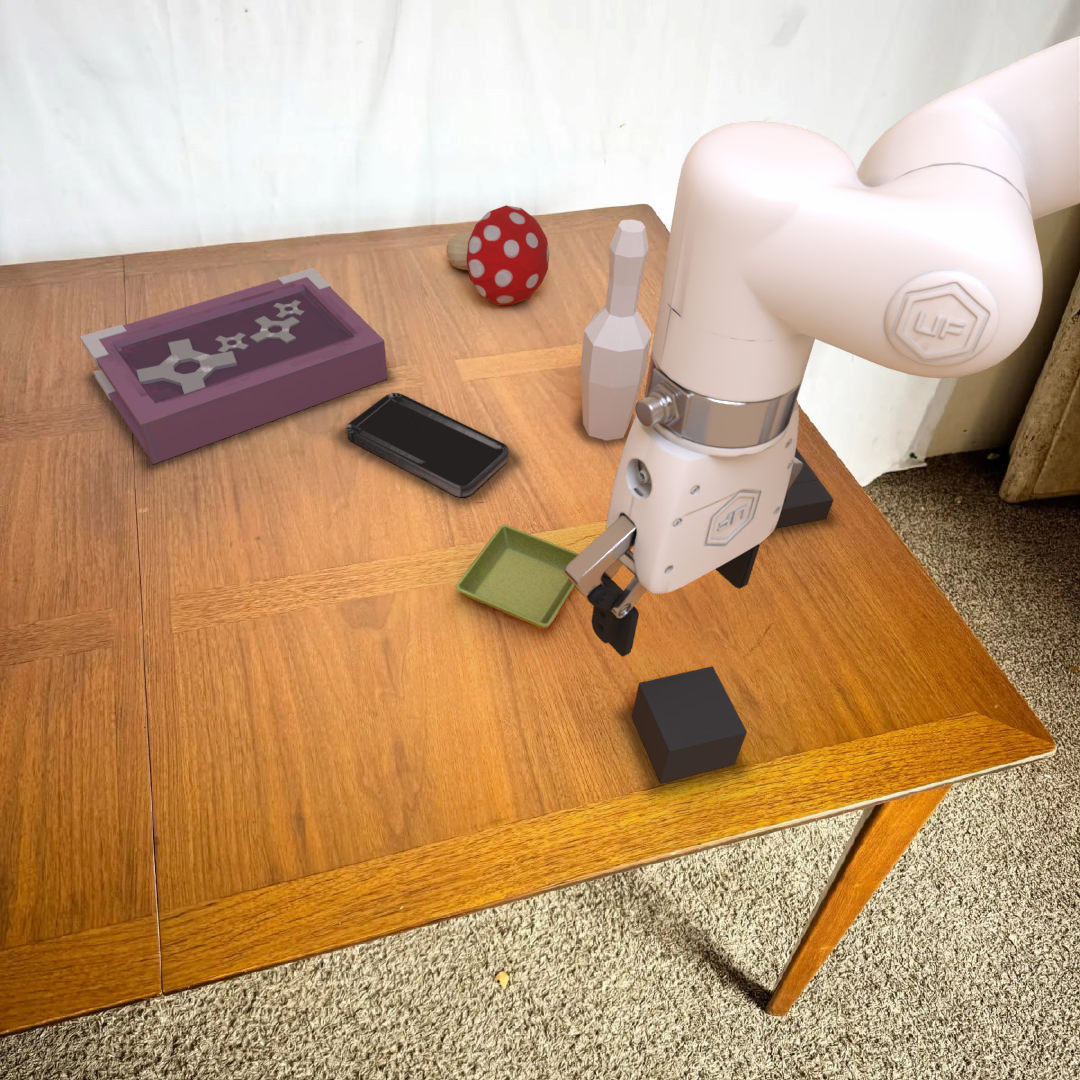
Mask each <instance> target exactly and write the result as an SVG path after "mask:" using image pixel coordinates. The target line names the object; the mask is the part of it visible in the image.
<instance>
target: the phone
mask: <svg viewBox="0 0 1080 1080" xmlns="http://www.w3.org/2000/svg"><path fill="white" fill-rule="evenodd" d="M346 433H347V438H348V440H349V442H351V443H353V444H355V445H357V446H359V447H361V448H362V449H365V450H366V451H368V452H371V453H372V454H374V455H376V456H378V457H380V458H381V459H384V460H386V461H388V462H390V463H391V464H393V465H395V466H397V467H399V468H401V469H403V470H405V471H407V472H409V473H411V474H413V475H414V476H417V477H418V478H421V479H423V480H424V481H425V482H429V483H430V484H432V485H433V486H436V487H438V488H440V489H442V490H443V491H445V492H447V493H449V494H451V495H453V496H455V497H458V498H467V497H470V496H471V495H473V494H474V493H475V492H477V491H478V490H479V489H480V488H481V487H482V486H483V485H484V484H485V483H486V482H488V480H489V479H491V478H492V477H494V475H495V474H496V473H497V472H498V471H499V470H500V469H501V468H503V467H504V466H505V465H506V464H507V462H508V461H509V453H510V451H509V446H508V445H506V444H505V443H504V442H501V441H499V440H498V439H496V438H493V437H491V436H489V435H488V434H485V433H483V432H481V431H479V430H476V429H475V428H473V427H471V426H469V425H467V424H464V423H462V422H460V421H458V420H456V419H455V418H452V417H450V416H448V415H446V414H444V413H442V412H439V411H437V410H436V409H434V408H431V407H429V406H428V405H425V404H424V403H421V402H419V401H417V400H415V399H413V398H410V397H409V396H407V395H405V394H402V393H400V392H391V393H388V394H386V395H385V396H383V397H382V398H380V399H379V400H378V401H377V402H375V403H374V404H372V405H371V406H370V407H368V408H367V409H366V410H365V411H363V412H362V413H361V414H359V415H358V416H357V417H355V418H354V419H352V420H351V421H350V422H349V423H348V424H347V425H346Z"/></svg>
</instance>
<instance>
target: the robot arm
mask: <svg viewBox="0 0 1080 1080" xmlns="http://www.w3.org/2000/svg"><path fill="white" fill-rule="evenodd" d="M1076 205H1080V35H1078V36H1076V37H1072V38H1069V39H1067V40H1064V41H1061V42H1058V43H1056V44H1053V45H1051V46H1049V47H1046V48H1043V49H1042V50H1039V51H1037V52H1034V53H1031V54H1030V55H1027V56H1025V57H1022V58H1021V59H1018V60H1017V61H1016V60H1015V61H1014V62H1012V63H1009V64H1007V65H1005V66H1003V67H1000V68H998V69H996V70H994V71H992V72H990V73H988V74H985V75H983V76H981V77H978V78H976V79H974V80H972V81H969V82H967V83H965V84H963V85H961V86H958V87H956V88H954V89H952V90H950V91H948V92H946V93H944V94H942V95H939V96H938V97H936V98H934V99H931V100H930V101H927V102H925V103H924V104H923V105H921V106H919V107H917V108H916V109H914V110H912V111H911V112H910V113H908V114H906V115H905V116H903V117H902V118H901V119H899V120H898V121H897V122H896V123H894V124H893V125H892V126H890V127H889V128H887V130H885V131H884V132H883V134H881V135H880V137H879V138H878V139H876V141H875V142H874V143H873V144H872V145H871V146H870V148H869V149H868V150H867V152H866V154H865V155H864V157H863V159H862V160H861V161H860V164H859V166H858V168H857V170H856V167H855V164H854V162H853V159H852V158H851V156H849V154H848V153H847V152H846V151H845V150H844V148H842V146H840V145H839V144H838V143H836V142H835V141H834V140H832V139H830V138H828V137H827V136H824V135H823V134H820V133H818V132H816V131H813V130H810V129H808V128H805V127H800V126H798V125H793V124H788V123H783V122H776V121H774V122H773V121H763V120H762V121H761V120H748V121H741V122H739V121H738V122H732V123H731V122H730V123H726V124H724V125H721V126H718V127H716V128H714V129H711V130H710V131H708V132H706V133H705V134H703V135H702V136H701V137H700V138H698V139H697V141H695V143H694V144H693V145H692V146H691V147H690V149H689V151H688V152H687V154H686V156H685V159H684V161H683V163H682V165H681V169H680V174H679V179H678V183H677V188H676V195H675V199H674V205H673V207H674V208H673V212H672V219H671V225H670V232H669V237H668V244H667V251H666V257H665V263H664V270H663V275H662V281H661V289H660V295H659V302H658V309H657V314H656V320H655V325H654V331H653V337H652V343H651V350H650V357H649V362H648V369H647V376H646V381H645V387H644V394H643V398H642V399H640V400H637V401H636V404H635V408H634V410H635V416H634V419H633V421H632V424H631V426H630V429H629V432H628V435H627V438H626V441H625V443H624V447H623V450H622V453H621V457H620V459H619V463H618V466H617V469H616V474H615V477H614V481H613V486H612V489H611V490H612V491H611V494H610V499H609V503H608V509H607V516H606V523H605V530H604V531H603V532H602V533H601V534H599V535H598V536H597V537H596V538H595V539H594V540H593V541H592V542H591V543H589V544H588V545H587V547H585V548H584V549H583V550H581V551H580V552H579V555H578V556H577V557H575V558H574V559H573V560H572V561H571V562H570V563H569V564H568V565H567V566H566V568H565V574H566V575H567V576H568V578H569V579H570V580H571V582H572V583H573V584H574V588H575V589H576V590H577V591H578V592H579V593H580V594H581V595H582V596H583V597H584V598H585V599H586V600H587V601H588V602H589V603H590V604H591V606H593V608H592V614H591V626H592V630H593V633H594V634H595V636H597V638H598V639H599V640H600V641H601V642H603V643H604V644H609V645H610V646H611V648H613V649H614V651H616V653H617V654H618V655H619V656H620V657H625V656H627V655H629V654H630V653H632V650H633V646H634V641H635V636H636V631H637V627H638V621H639V617H640V612H639V610H638V608H637V607H636V604H637V603H638V602H639V601H640V600H641V598H642V596H643V595H644V594H645V593H646V591H648V592H649V593H650V594H652V595H663V594H668V593H671V592H675V591H676V590H679V589H681V588H683V587H685V586H687V585H689V584H690V583H693V582H695V581H696V580H698V579H699V578H701V577H703V576H705V575H707V574H709V573H711V572H712V571H714V570H715V571H716V572H717V573H718V574H720V575H721V576H722V577H723V578H724V579H725V580H726V581H727V582H729V583H730V584H731V586H733V587H734V588H736V589H743V588H744V587H746V586H748V584H749V581H750V579H751V575H752V572H753V568H754V566H755V562H756V559H757V555H758V553H759V549H760V546H761V543H762V542H764V541H765V540H766V539H767V538H768V537H770V536H771V534H772V533H773V532H774V531H775V529H776V528H775V527H776V524H777V522H778V519H779V516H780V513H781V510H782V506H783V505H784V504H785V502H786V498H787V494H786V492H787V489H789V488H790V487H791V485H792V484H793V482H794V481H795V479H796V478H797V476H798V475H799V473H800V471H801V470H802V468H803V463H802V462H801V461H799V460H798V459H797V458H795V457H794V456H795V451H796V449H797V445H798V444H797V443H798V435H799V423H800V405H799V401H798V396H799V393H800V391H801V387H802V383H803V381H804V377H805V373H806V371H807V366H808V364H809V360H810V358H811V353H812V351H813V348H814V344H815V340H817V341H820V342H821V343H824V344H827V345H830V346H832V347H835V348H837V349H840V350H842V351H844V352H846V353H848V354H852V355H854V356H856V357H858V358H861V359H863V360H866V361H868V362H870V363H873V364H876V365H878V366H881V367H883V368H886V369H889V370H892V371H896V372H900V373H903V374H905V375H910V376H917V377H924V378H928V379H929V378H930V379H953V378H954V379H955V378H961V377H967V376H972V375H974V374H978V373H981V372H984V371H986V370H987V369H989V368H990V369H991V368H992V367H994V366H996V365H998V364H999V363H1001V362H1003V361H1005V359H1007V358H1008V357H1010V355H1012V354H1013V353H1014V352H1015V351H1016V350H1017V349H1018V348H1020V347H1021V345H1022V344H1023V342H1024V341H1025V340H1026V339H1027V337H1028V336H1029V334H1030V332H1031V330H1032V329H1033V327H1034V325H1035V323H1036V321H1037V318H1038V316H1039V312H1040V309H1041V304H1042V300H1043V290H1044V279H1043V278H1044V277H1043V266H1042V259H1041V254H1040V249H1039V244H1038V240H1037V235H1036V230H1035V225H1034V221H1035V220H1037V219H1040V218H1043V217H1045V216H1048V215H1051V214H1054V213H1056V212H1059V211H1061V210H1064V209H1067V208H1070V207H1074V206H1076ZM623 566H624V567H625V568H626V569H627V570H629V572H630V573H631V574H632V575H633V577H632V579H631V580H630V581H629V583H628V584H627V585H626V587H625V588H624V589H622V587H621V586H620V585H619V584H618V583H617V582H616V581H615V580H614V579H613V578H614V577H615V576H616V575H617V573H618V572H619V570H620V569H621V568H622V567H623Z"/></svg>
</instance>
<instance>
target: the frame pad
mask: <svg viewBox="0 0 1080 1080" xmlns="http://www.w3.org/2000/svg"><path fill="white" fill-rule="evenodd" d="M794 457H795V458H797V459H798V460H799V461H801V462H802V463H803V468H802V470H801V471H800V473H799V475H798V476H797V478H796V479H795V481H794V482H793V484H792V485H791V487H790V488H789V489H787V492H786V494H787V498H786V502H785V504H784V505H783V506H782V510H781V513H780V516H779V519H778V522H777V524H776V527H775V529H779V528H784V527H790V526H795V525H800V524H806V523H810V522H816V521H820V520H826V519H827V518H828V517H829V513H830V511H831V509H832V505H833V503H834V498H833V497H832V495H831V494H830V492H829V491H828V490H827V488H826V487H825V486H824V484H823V483H822V482H821V480H820V478H819V477H818V476H817V475H816V473H815V471H813V469H812V468H811V466H810V465H809V464H808V462H807V461H806V460H805V458H804V457H803V455H802V454H801V453H800V451H799V450H798V448H796V451H795V456H794Z"/></svg>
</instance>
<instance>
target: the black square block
mask: <svg viewBox="0 0 1080 1080" xmlns="http://www.w3.org/2000/svg"><path fill="white" fill-rule="evenodd" d="M631 718H632V721H633V723H634V726H635V728H636V730H637V733H638V735H639V738H640V739H641V742H642V745H643V747H644V748H645V751H646V754H647V756H648V758H649V761H650V763H651V765H652V768H653V769H654V770H653V771H654V772H655V774H656V777H657V779H658V782H659V783H660V784H665V783H668V782H672V781H676V780H680V779H684V778H688V777H692V776H695V775H699V774H700V775H701V774H705V773H707V772H712V771H715V770H720V769H723V768H724V769H725V768H728V767H732V766H734V765H736V762H737V759H738V757H739V754H740V751H741V749H742V746H743V743H744V741H745V738H746V736H747V733H748V732H747V729H746V727H745V725H744V723H743V722H742V719H741V718H740V715H739V713H738V712H737V710H736V708H735V706H734V704H733V702H732V700H731V699H730V696H729V694H728V693H727V691H726V689H725V687H724V685H723V683H722V681H721V679H720V677H719V675H718V673H717V671H716V669H715V667H714V666H711V665H710V666H707V667H703V668H698V669H693V670H690V671H685V672H681V673H676V674H672V675H667V676H663V677H659V678H654V679H650V680H649V679H648V680H645V681H641V682H639V683H638V685H637V691H636V695H635V700H634V705H633V708H632V714H631Z"/></svg>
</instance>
